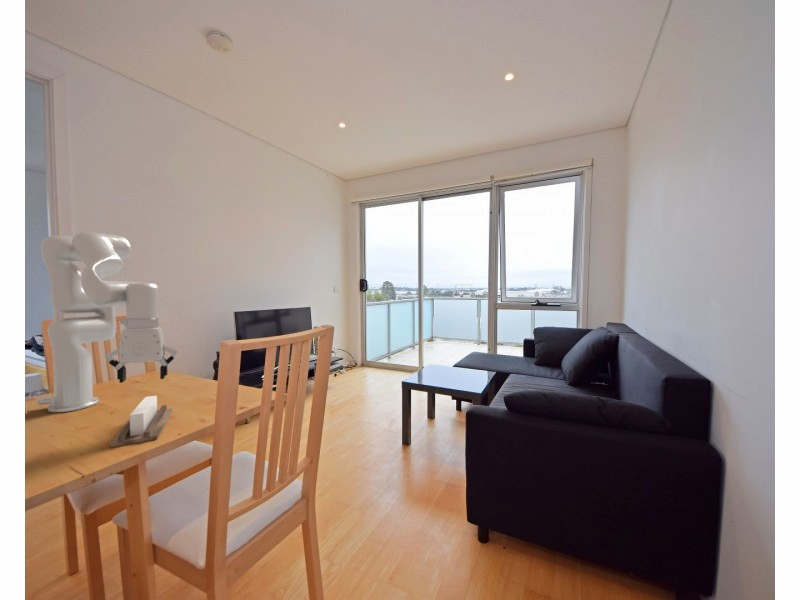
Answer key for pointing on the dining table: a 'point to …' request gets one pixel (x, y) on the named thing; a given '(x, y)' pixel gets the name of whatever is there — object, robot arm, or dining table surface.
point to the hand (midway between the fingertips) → (143, 379)
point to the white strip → (143, 415)
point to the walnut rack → (149, 434)
